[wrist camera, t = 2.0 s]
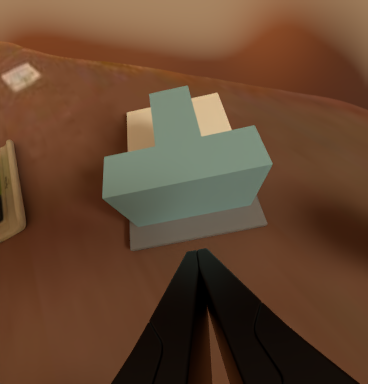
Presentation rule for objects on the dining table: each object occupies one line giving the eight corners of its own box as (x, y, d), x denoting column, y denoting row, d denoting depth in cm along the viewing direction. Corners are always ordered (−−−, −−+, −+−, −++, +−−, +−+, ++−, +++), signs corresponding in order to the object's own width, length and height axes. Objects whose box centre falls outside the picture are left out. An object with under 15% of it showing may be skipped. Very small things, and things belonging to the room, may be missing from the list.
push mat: (265, 226, 20) (267, 223, 20) (132, 251, 21) (130, 250, 20) (217, 97, 30) (217, 92, 30) (128, 116, 31) (126, 112, 30)
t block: (250, 205, 21) (272, 164, 14) (138, 227, 21) (102, 198, 14) (225, 133, 26) (231, 75, 19) (134, 152, 26) (106, 103, 19)
